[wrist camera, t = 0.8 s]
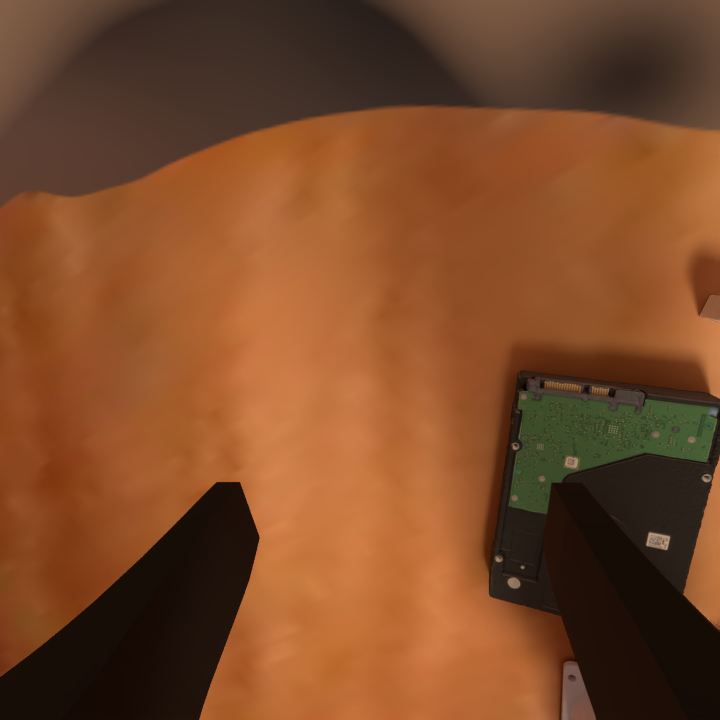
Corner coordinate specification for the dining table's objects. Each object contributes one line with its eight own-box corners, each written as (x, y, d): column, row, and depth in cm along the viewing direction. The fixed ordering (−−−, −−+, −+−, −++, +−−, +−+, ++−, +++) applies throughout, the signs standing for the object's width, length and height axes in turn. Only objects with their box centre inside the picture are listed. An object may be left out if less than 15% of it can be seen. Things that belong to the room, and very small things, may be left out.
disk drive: (656, 611, 27) (709, 388, 23) (674, 648, 24) (737, 402, 21) (488, 570, 29) (513, 367, 26) (487, 600, 27) (516, 378, 24)
